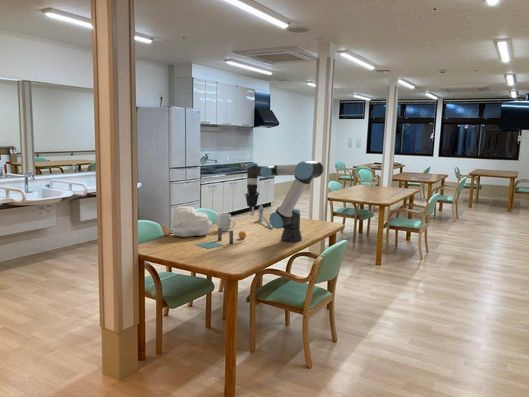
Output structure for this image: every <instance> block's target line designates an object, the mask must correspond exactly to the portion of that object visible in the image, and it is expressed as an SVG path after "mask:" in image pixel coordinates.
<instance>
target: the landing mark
mask: <svg viewBox="0 0 529 397" xmlns="http://www.w3.org/2000/svg"><path fill="white" fill-rule="evenodd" d="M195 246H198V247H201V248H204V249H207V250H208V249H213V248H219V247H223V246H224V244H222V243H218V242H215V241H207V242H202V243H201V242H200V243H196V244H195Z"/></svg>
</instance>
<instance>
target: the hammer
mask: <svg viewBox="0 0 529 397" xmlns="http://www.w3.org/2000/svg"><path fill="white" fill-rule="evenodd" d="M257 209H258V215H257V217H258V219H257V222H265V223H266V225H267V227H268V228H269V230H274V228H273V227H272V226H271V224H270V221H268V220H269V219H267V218H266V216H265V215H264V210H265V208H264V207H263V204H262V203H260V205H259V207H258V208H257Z"/></svg>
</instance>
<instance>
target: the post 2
mask: <svg viewBox="0 0 529 397" xmlns="http://www.w3.org/2000/svg"><path fill="white" fill-rule="evenodd" d="M228 231H229V232H228V233H229V234H228V236H229V239H228V241H229V243H228V244H229V245H233V244H234V230H228Z"/></svg>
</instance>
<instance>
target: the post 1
mask: <svg viewBox="0 0 529 397" xmlns="http://www.w3.org/2000/svg"><path fill="white" fill-rule="evenodd" d="M222 239H223V238H222V228H218V227H217V241H218V242H221V241H222Z"/></svg>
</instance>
